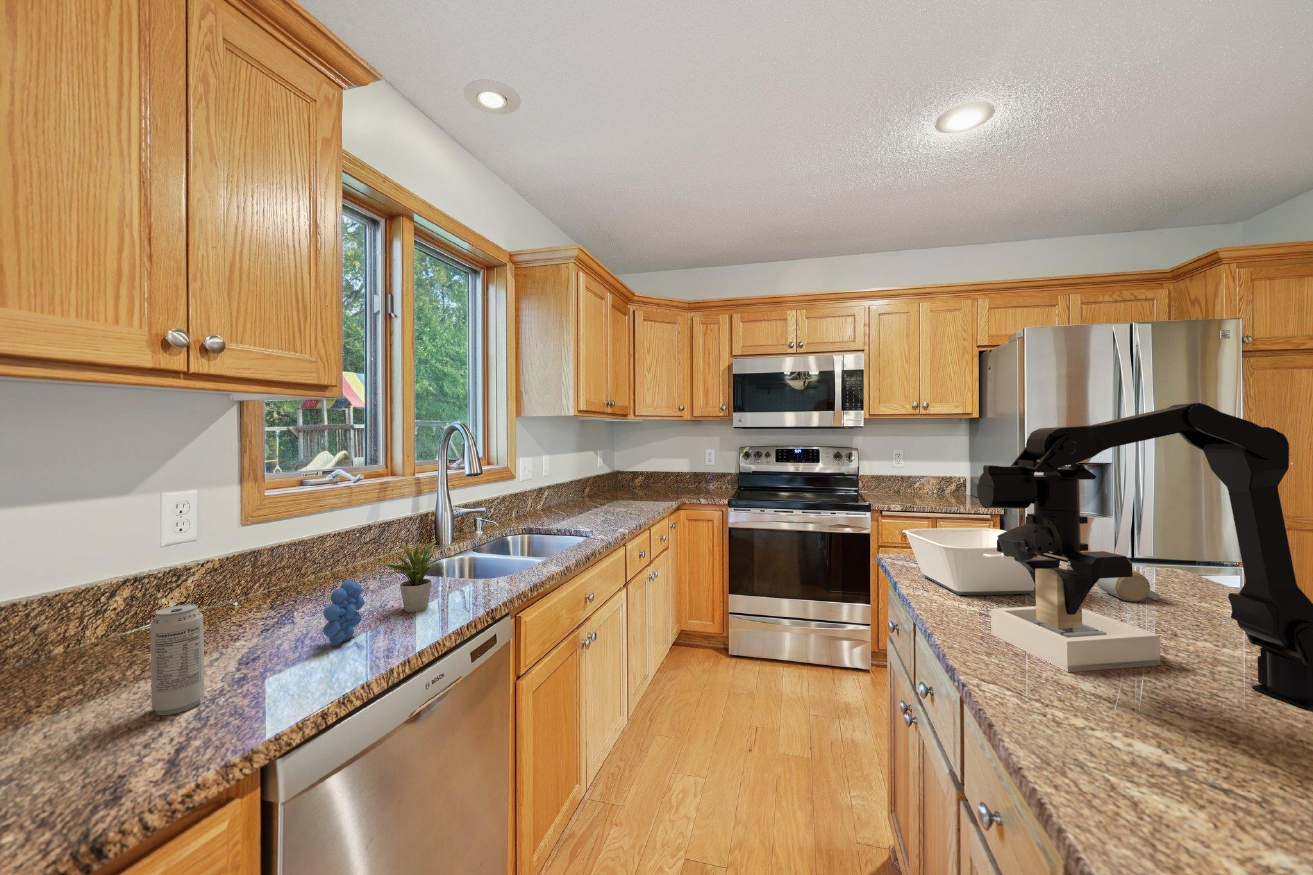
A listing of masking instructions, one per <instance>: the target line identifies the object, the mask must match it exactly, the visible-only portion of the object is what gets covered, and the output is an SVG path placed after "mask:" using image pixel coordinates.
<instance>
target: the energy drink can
mask: <svg viewBox="0 0 1313 875" xmlns="http://www.w3.org/2000/svg"><path fill="white" fill-rule="evenodd" d="M198 607H199V605H198V604H194V603H192V604H191V603H189V604H179V605H172V606H169V607H165V608H161V609H160V610H157V611H155V617H154V619H153V620H152V622H151V623H150V627H149V629H150V630H149V631H150V632H149V633H150V675H151V676H150V680H151V681H150V683H151V684H150V686H151V688H150V689H151V691H150V692H151V693H150V694H151V709H152V710H153V711H156V714H157V715H159V716H167V715H168V716H170V715H174V714H180V713H182V712H185V711H188V710H190V709H193V708H194V707H196V706H198V705H199V704H200V703H201V699H203V698H204V696H205V655H204V654H205V652H204V651H205V650H204V648H205V646H204V645H205V643H204V642H205V641H204V614H203V613H202V612H201V611H200V610H199V608H198Z"/></svg>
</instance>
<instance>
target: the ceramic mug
mask: <svg viewBox="0 0 1313 875" xmlns="http://www.w3.org/2000/svg"><path fill="white" fill-rule="evenodd" d="M1132 573H1133V577H1120V578H1100V579H1099V580H1098V581H1097V582H1096V585H1097V586H1098V588H1099V589H1101V591H1103V592H1105V593H1108V594H1109V595H1112V596H1113V597H1116V598H1118V599H1120V600H1123V601H1127V602H1130V603H1131V602H1132V603H1136V602H1137V603H1138V602H1140V601H1143V600H1145V599H1146V598H1149V599H1151V600H1153V601H1159V598H1160V597H1161V594H1159V593H1158V592H1155V591H1152V590H1151V585H1150V581H1149V580H1148V579H1147V578H1146V576H1145V575H1143V574H1142V573H1140V572H1139V571H1137V570H1135V569H1132Z"/></svg>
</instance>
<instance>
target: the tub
mask: <svg viewBox="0 0 1313 875" xmlns="http://www.w3.org/2000/svg"><path fill="white" fill-rule="evenodd" d="M1007 531H1008V530H1004V529H997V528H992V527H991V528H989V527H945V528H943V527H941V528H935V527H934V528H911V529H906V530H905V531H904V533H905V536H906V537H907V539H908V542H909V544H910V547H911V549H912V552H913V554H914V557H915V560H916V561H917V564H918V566H919V570H920V572H921V574H922V576H923V577H924V576H925V577H926V579H927V578H928V580H929V579H930V580H929V581H931V580H932V582H933V581H934V582H933V583H935V584H936V585H939V586H940V585H941V587H942V586H943V587H942V588H944V587H945V588H944V589H946V588H947V589H946V590H948V589H949V591H950V590H951V591H950V592H952V593H954V594H957V595H958V596H960V595H969V596H1015V595H1014V594H1021V595H1029V594H1031V593H1033V591H1034V589H1035V588H1036V586H1035V584H1034V581H1033V579H1032V577H1031V575H1030V573H1029V571H1028V569H1027V568H1025V567H1024V566H1023V565H1022V564H1020V563H1019V562H1017V561H1015V560H1014V557H1011V556H1008V557H1007V556H1005V555H1004V554H1003V553H1001V552H998V551H997V540H998V537H997V536H998V535H1000V534H1002V533H1004V532H1007ZM1012 594H1013V595H1012Z"/></svg>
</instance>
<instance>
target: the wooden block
mask: <svg viewBox="0 0 1313 875" xmlns="http://www.w3.org/2000/svg"><path fill="white" fill-rule="evenodd" d="M1064 569H1065V568H1062V567H1059V568H1041V569H1035V584H1036V586H1035V606H1036V620H1039V621H1041V622H1044V623H1046V624H1048V625H1051V626H1053V627H1056V628H1073V627H1082V609H1083V603H1082V604H1081V606H1080V607H1079V609H1078V611H1077V612H1076V614H1074V615H1069V614H1067V612H1066V606H1065V597H1064V584H1063V579H1062V578H1061V577H1060V576H1059V575H1058V574H1057V572H1056V571H1055V570H1064Z"/></svg>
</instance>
